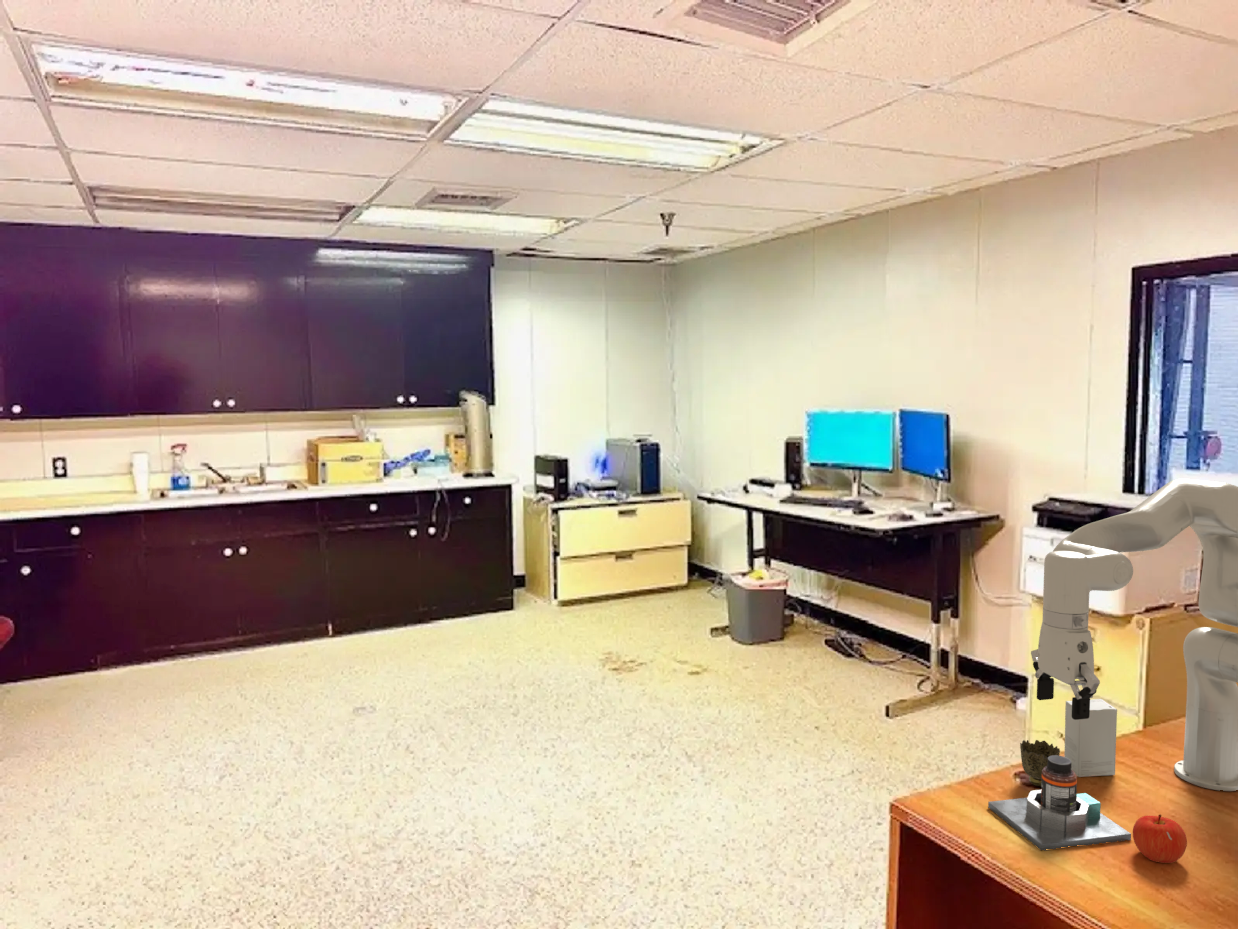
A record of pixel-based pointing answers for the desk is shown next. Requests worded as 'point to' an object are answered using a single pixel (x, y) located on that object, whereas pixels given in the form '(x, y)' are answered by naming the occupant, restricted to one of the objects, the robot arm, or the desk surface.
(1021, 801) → the hub plate
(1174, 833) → the apple
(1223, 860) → the desk surface
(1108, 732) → the skincare box
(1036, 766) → the cup
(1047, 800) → the supplement bottle
